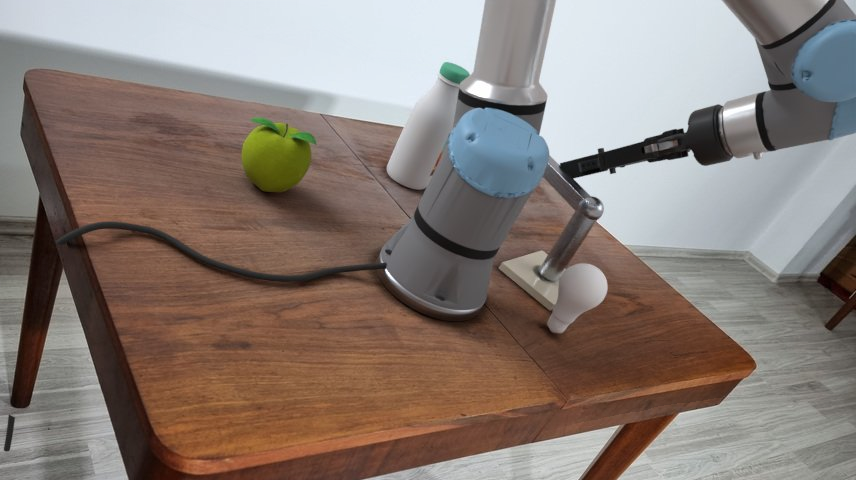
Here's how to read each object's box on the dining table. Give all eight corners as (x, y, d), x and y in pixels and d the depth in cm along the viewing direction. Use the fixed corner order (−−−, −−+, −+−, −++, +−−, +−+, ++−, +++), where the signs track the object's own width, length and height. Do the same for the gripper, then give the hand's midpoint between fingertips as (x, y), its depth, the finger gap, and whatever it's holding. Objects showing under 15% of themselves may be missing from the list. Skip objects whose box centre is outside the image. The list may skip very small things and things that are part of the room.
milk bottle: (415, 195, 115) (469, 82, 105) (377, 171, 117) (426, 58, 107) (434, 184, 122) (486, 77, 111) (397, 162, 124) (445, 54, 113)
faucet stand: (549, 310, 101) (553, 304, 100) (498, 268, 106) (501, 262, 105) (587, 294, 109) (591, 288, 109) (538, 255, 114) (542, 250, 113)
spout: (563, 283, 106) (613, 207, 99) (545, 281, 105) (595, 204, 97) (513, 222, 117) (554, 150, 110) (496, 219, 116) (537, 146, 108)
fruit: (286, 213, 96) (309, 149, 90) (224, 184, 96) (243, 118, 91) (306, 188, 104) (329, 128, 98) (249, 161, 104) (268, 99, 98)
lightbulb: (579, 339, 98) (624, 278, 92) (559, 351, 93) (604, 287, 87) (545, 311, 100) (586, 250, 94) (524, 322, 96) (565, 258, 90)
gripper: (717, 163, 88) (547, 199, 104) (748, 157, 97) (587, 191, 114) (706, 103, 87) (537, 149, 104) (738, 102, 97) (578, 145, 113)
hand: (563, 171), depth 109 cm, fingers closed
